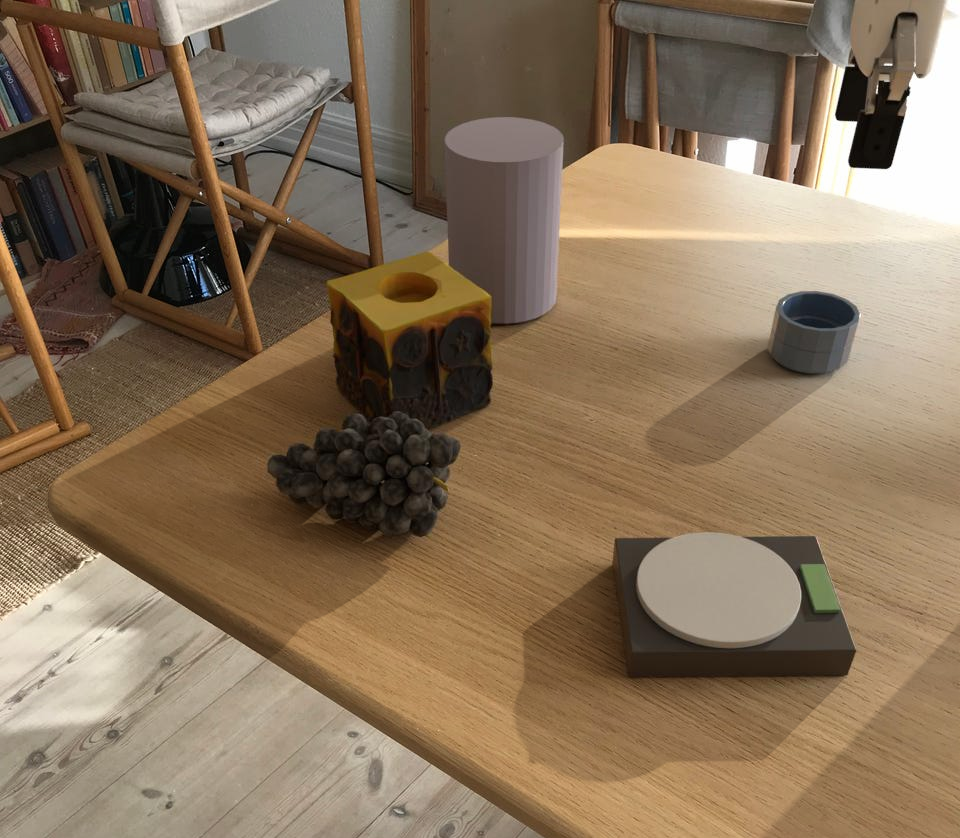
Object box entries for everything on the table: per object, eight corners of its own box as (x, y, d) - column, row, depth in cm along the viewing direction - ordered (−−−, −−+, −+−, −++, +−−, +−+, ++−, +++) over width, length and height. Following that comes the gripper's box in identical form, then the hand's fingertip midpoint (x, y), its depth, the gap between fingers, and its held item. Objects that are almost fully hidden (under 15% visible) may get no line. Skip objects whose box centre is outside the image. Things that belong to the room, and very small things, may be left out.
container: (501, 265, 106) (501, 108, 95) (578, 299, 101) (588, 137, 90) (427, 301, 101) (420, 139, 90) (505, 338, 96) (506, 172, 85)
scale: (809, 561, 74) (818, 528, 72) (847, 676, 66) (859, 643, 64) (612, 563, 74) (615, 530, 72) (628, 678, 66) (632, 645, 64)
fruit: (237, 405, 72) (440, 440, 68) (293, 380, 79) (480, 410, 75) (241, 522, 76) (433, 561, 72) (294, 489, 83) (472, 522, 79)
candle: (391, 446, 84) (382, 334, 77) (333, 389, 90) (319, 280, 83) (495, 406, 88) (496, 296, 81) (433, 355, 94) (428, 247, 87)
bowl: (836, 336, 95) (848, 290, 92) (856, 377, 90) (869, 330, 87) (760, 337, 95) (769, 291, 92) (775, 378, 91) (786, 331, 87)
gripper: (1010, -90, 64) (927, 189, 77) (958, -143, 76) (894, 106, 88) (885, -92, 65) (823, 185, 77) (853, -144, 77) (804, 102, 89)
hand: (861, 142), depth 83 cm, fingers open, 9 cm apart
